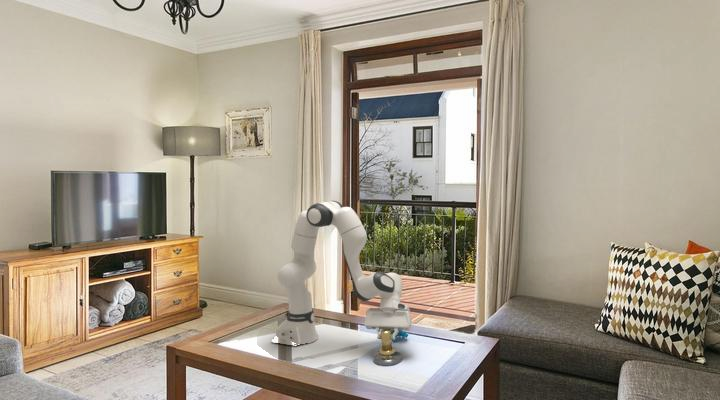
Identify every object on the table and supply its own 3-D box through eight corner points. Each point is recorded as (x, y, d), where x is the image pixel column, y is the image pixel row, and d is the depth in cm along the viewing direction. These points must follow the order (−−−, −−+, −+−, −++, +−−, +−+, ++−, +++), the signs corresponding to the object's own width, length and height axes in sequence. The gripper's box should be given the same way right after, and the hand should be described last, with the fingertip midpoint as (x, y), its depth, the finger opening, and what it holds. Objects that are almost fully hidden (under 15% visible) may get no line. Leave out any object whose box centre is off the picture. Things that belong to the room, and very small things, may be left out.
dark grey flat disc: (369, 364, 184) (369, 361, 184) (377, 352, 196) (377, 349, 196) (398, 366, 181) (398, 363, 180) (404, 354, 192) (404, 351, 192)
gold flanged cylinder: (378, 355, 186) (376, 333, 185) (381, 349, 192) (380, 327, 191) (393, 356, 184) (391, 334, 183) (396, 350, 190) (394, 328, 189)
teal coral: (413, 336, 207) (400, 325, 202) (408, 348, 204) (395, 337, 199) (395, 334, 215) (383, 323, 211) (391, 345, 212) (378, 335, 208)
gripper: (365, 304, 196) (360, 334, 188) (411, 305, 190) (408, 336, 181) (368, 311, 201) (364, 340, 192) (413, 312, 194) (411, 343, 186)
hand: (385, 339), depth 187 cm, fingers closed on gold flanged cylinder, 4 cm apart
